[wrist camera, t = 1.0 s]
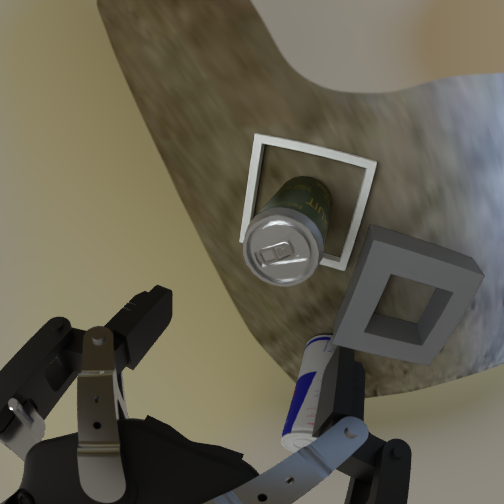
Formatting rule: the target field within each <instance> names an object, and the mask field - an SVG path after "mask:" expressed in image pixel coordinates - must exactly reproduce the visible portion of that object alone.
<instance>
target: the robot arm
mask: <svg viewBox="0 0 504 504" xmlns="http://www.w3.org/2000/svg"><path fill="white" fill-rule="evenodd" d="M171 318H172V290H169V289H167V288H165V287H162V286H159V285H156V286H155V287H154V288H153V289H152V290H151V291H150V292H146V291H144V292H142V293H140V294H137V295H135V296H134V297H133V298H132V299H131V300H130V301H129V303H127V304H126V305H125V306H124V308H122V309H121V310H120V311H119V312H118V313H117V314H116V315H115V316H114V317H113V318H112V319H111V320H110V321H109V322H108V323H107V324H106V325H105V326H104V327H103V326H96V327H92V328H90V329H89V330H87V331H84V330H80V329H76V328H72V327H71V324H70V322H69V320H68V319H66V318H64V317H54V318H52V319H50V320H49V321H48V322H47V323H46V324H45V325H44V326H43V327H42V328H41V329H40V330H39V331H38V332H37V333H36V334H35V335H34V336H33V337H32V338H31V339H30V340H29V341H28V342H27V343H26V344H25V345H24V346H23V347H22V348H21V349H20V350H19V351H18V352H17V353H16V354H15V355H14V357H13V358H12V359H11V360H10V361H9V362H8V363H7V364H6V365H5V366H4V367H3V369H2V370H1V371H0V442H1V443H3V444H4V445H5V446H7V447H8V448H9V449H10V450H12V451H13V452H14V453H15V454H16V455H18V456H19V457H20V458H21V459H22V460H23V461H24V462H25V463H24V474H23V478H22V482H21V485H20V487H19V489H18V490H17V491H16V492H15V494H13V495H12V496H10V497H9V498H8V499H6V500H5V501H3V502H2V503H1V504H292V503H293V502H295V501H296V500H298V499H299V498H300V497H302V496H303V495H304V494H306V493H307V492H309V491H310V490H311V489H312V488H314V487H315V486H316V485H318V484H319V483H320V482H321V481H323V480H324V479H325V478H326V477H327V476H329V474H331V472H332V471H333V470H335V469H337V470H339V471H341V472H343V473H345V474H347V475H349V476H351V478H350V482H349V487H348V491H347V495H346V499H345V503H344V504H407V499H408V490H409V481H410V470H411V449H410V447H409V445H408V444H407V443H406V442H405V441H403V440H401V439H392V440H389V441H388V442H386V441H384V440H382V439H379V438H377V437H376V436H374V435H372V434H371V433H370V432H369V431H368V428H367V425H366V424H365V423H364V418H363V417H364V397H365V391H364V390H365V384H364V383H365V371H364V369H363V366H362V364H361V363H360V362H356V361H354V349H351V348H347V347H343V346H340V345H338V346H337V348H336V350H335V351H334V353H333V355H332V357H331V359H330V360H329V362H328V364H327V366H326V368H325V371H324V374H323V377H322V383H321V390H320V395H319V401H318V407H317V412H316V418H315V423H314V428H313V433H312V437H315V438H317V439H316V440H315V441H313V442H312V443H311V444H309V445H308V446H306V447H303V448H301V449H299V450H298V451H296V452H295V453H294V454H292V455H291V456H289V457H288V458H286V459H285V460H284V461H282V462H280V463H279V464H277V465H276V466H274V467H272V468H271V469H269V470H267V471H266V472H264V473H263V474H261V475H259V473H258V472H257V471H256V470H255V469H254V468H253V467H252V466H251V465H249V464H248V463H247V462H245V461H244V460H242V458H243V455H244V454H242V453H239V452H235V451H233V450H230V449H227V448H224V447H221V446H217V445H210V444H203V443H197V442H192V441H190V440H188V439H187V438H185V437H184V436H183V435H181V434H180V433H179V432H178V431H176V430H175V429H174V428H172V427H171V426H170V425H168V424H165V423H163V422H161V421H159V420H157V419H155V418H153V417H151V416H149V415H147V417H146V419H145V420H143V419H134V418H132V419H131V418H129V417H128V413H127V409H126V403H125V395H124V385H123V375H122V371H123V369H124V368H125V367H128V368H130V369H132V370H134V368H135V367H136V366H137V365H138V363H139V362H140V361H141V359H142V358H143V357H144V356H145V354H146V353H147V352H148V350H149V349H150V348H151V346H152V345H153V344H154V342H156V340H157V339H158V337H159V336H160V335H161V334H162V333H163V331H164V330H165V329H166V327H167V326H168V325H169V323H170V321H171ZM51 362H52V363H51ZM50 363H51V364H50ZM77 376H78V377H77ZM76 377H77V419H78V432H76V433H72V434H68V435H64V436H61V437H56V438H52V439H47V440H44V441H42V438H43V437H44V431H45V422H44V420H45V418H46V417H47V416H48V414H49V413H50V411H51V410H52V409H53V407H54V406H55V405H56V403H57V402H58V401H59V399H60V398H61V397H62V395H63V394H64V393H65V391H66V390H67V389H68V387H69V386H70V385H71V383H72V382H73V381H74V380H75V378H76Z"/></svg>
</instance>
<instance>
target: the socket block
mask: <svg viewBox="0 0 504 504" xmlns="http://www.w3.org/2000/svg"><path fill="white" fill-rule="evenodd" d="M391 274H393V275H397V276H400V277H403V278H407V279H410V280H414V281H417V282H420V283H424V284H427V285H431V286H434V287H437V288H436V290H435V292H434V294H433V296H432V298H431V300H430V302H429V304H428V305H427V307H426V309H425V311H424V313H423V314H422V316H421V318H420V320H419V321H418V323H417V324H415V323H411V322H408V321H404V320H400V319H396V318H392V317H388V316H384V315H380V314H377V313H373V312H374V310H375V308H376V306H377V304H378V302H379V299H380V297H381V295H382V293H383V291H384V288H385V286H386V284H387V282H388V279H389V277H390V275H391ZM484 276H485V275H484V274H483V273H482V271H481V270H480V268H479V267H478V265H477V264H476V262H475V261H474V260H473V258H471V257H469V256H466V255H463V254H461V253H458V252H455V251H452V250H449V249H446V248H444V247H441V246H438V245H435V244H432V243H429V242H426V241H423V240H420V239H417V238H414V237H411V236H408V235H404V234H401V233H398V232H395V231H392V230H389V229H385V228H382V227H379V226H375V225H372V224H370V227H369V230H368V233H367V236H366V239H365V242H364V245H363V248H362V251H361V254H360V257H359V260H358V262H357V265H356V268H355V271H354V273H353V276H352V279H351V281H350V284H349V287H348V289H347V292H346V294H345V297H344V300H343V302H342V305H341V307H340V309H339V312H338V314H337V317H336V319H335V322H334V330H333V338H332V344H335V345H340V346H343V347H347V348H351V349H355V350H359V351H363V352H367V353H371V354H376V355H380V356H384V357H389V358H393V359H398V360H403V361H407V362H412V363H417V364H422V365H427V366H429V365H430V364H431V362H432V361H433V360H434V358H435V357H436V356H437V354H438V353H439V351H440V350H441V349H442V347H443V346H444V344H445V343H446V341H447V340H448V338H449V337H450V335H451V334H452V332H453V331H454V329H455V328H456V326H457V324H458V323H459V321H460V320H461V318H462V316H463V315H464V313H465V311H466V310H467V308H468V306H469V304H470V303H471V301H472V299H473V297H474V295H475V294H476V292H477V290H478V288H479V286H480V284H481V282H482V280H483V278H484Z"/></svg>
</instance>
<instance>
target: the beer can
mask: <svg viewBox="0 0 504 504" xmlns="http://www.w3.org/2000/svg"><path fill="white" fill-rule="evenodd" d="M331 203H332V202H331V198H330V194H329V192H328V190H327V189H326V187H325V186H324V185H323V184H322V183H321V182H319V181H318V180H316V179H314V178H311V177H305V176H300V177H295V178H292V179H291V180H289V181H287V182H286V183H285V184H284V185H283V186H282V187H281V188H280V189H279V191H278V192H277V193H276V194H275V195H274V196H273V197H272V198H271V199H270V201H269V202H268V203H267V204H266V205H265V206H264V207H263V208H262V210H261V211H260V212H259V213H258V214H257V215H256V216H255V217H254V219H253V220H252V221H251V222H250V223H249V225H248V227H247V230H246V233H245V238H244V241H243V255H244V258H245V261H246V264H247V265H248V266H249V268H250V269H251V271H252V272H253V273H254V274H255V275H256V276H257V277H259V278H260V279H261V280H263V281H265V282H267V283H269V284H271V285H276V286H282V287H286V286H295V285H297V284H299V283H302V282H304V281H305V280H306V279H308V278H309V277H310V276H311V275H312V274H313V272H314V271H315V270H316V269H317V268H318V266H319V264H320V262H321V260H322V258H323V253H324V247H325V242H326V236H327V230H328V224H329V218H330V212H331Z"/></svg>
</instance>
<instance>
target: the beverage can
mask: <svg viewBox="0 0 504 504" xmlns="http://www.w3.org/2000/svg"><path fill="white" fill-rule="evenodd" d="M332 338H333V335H319V336H315V337H313V338H312V339H310V340H309V341H308V342H307V344H306V347H305V352H304V356H303V360H302V364H301V368H300V372H299V376H298V379H297V383H296V387H295V391H294V395H293V398H292V402H291V405H290V409H289V412H288V416H287V419H286V423H285V426H284V429H283V433H282V439H281V444H282V446H283V447H284V448H286V449H287V450H289V451H291V452H293V453H295V452H296V451H298V450H299V449H301V448H303V447H306V446H308V445H309V444H311V443H312V442H313V441H315V440H316V439H317V438H315V437H312V433H313V428H314V423H315V418H316V412H317V407H318V401H319V395H320V390H321V383H322V377H323V374H324V371H325V368H326V366H327V364H328V362H329V360H330V359H331V357H332V355H333V353H334V351H335V350H336V348H337V346H338V345H335V344H332Z"/></svg>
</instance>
